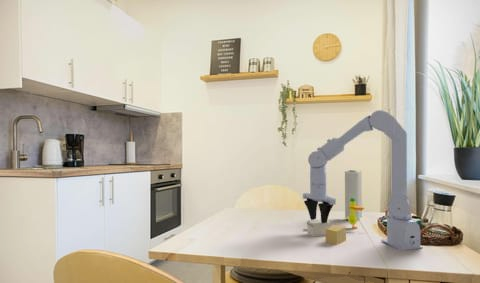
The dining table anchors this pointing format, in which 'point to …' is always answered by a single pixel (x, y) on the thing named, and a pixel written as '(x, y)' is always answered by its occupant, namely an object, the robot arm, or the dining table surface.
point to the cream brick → (317, 227)
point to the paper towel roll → (353, 192)
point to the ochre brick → (335, 234)
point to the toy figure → (353, 213)
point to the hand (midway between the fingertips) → (318, 221)
